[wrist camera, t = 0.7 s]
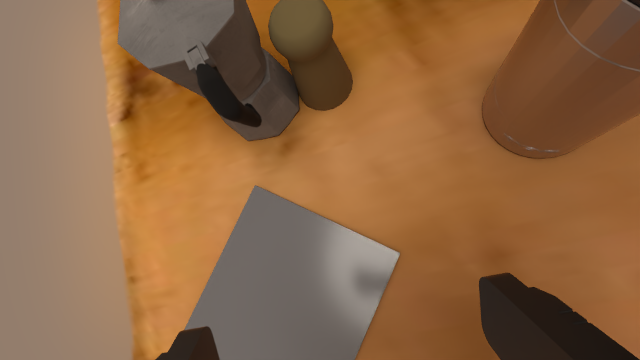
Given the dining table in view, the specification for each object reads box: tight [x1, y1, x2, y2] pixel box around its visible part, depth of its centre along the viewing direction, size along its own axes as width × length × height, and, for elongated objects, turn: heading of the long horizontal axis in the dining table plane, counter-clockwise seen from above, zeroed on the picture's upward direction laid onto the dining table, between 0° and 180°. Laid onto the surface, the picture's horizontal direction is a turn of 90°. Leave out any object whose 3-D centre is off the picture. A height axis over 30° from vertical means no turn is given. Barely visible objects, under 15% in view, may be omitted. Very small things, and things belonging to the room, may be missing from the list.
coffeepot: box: [118, 0, 299, 141], centre depth 27 cm, size 15×9×18 cm, turn 28°
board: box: [184, 185, 400, 360], centre depth 30 cm, size 18×16×1 cm
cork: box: [268, 0, 353, 111], centre depth 29 cm, size 6×6×11 cm
